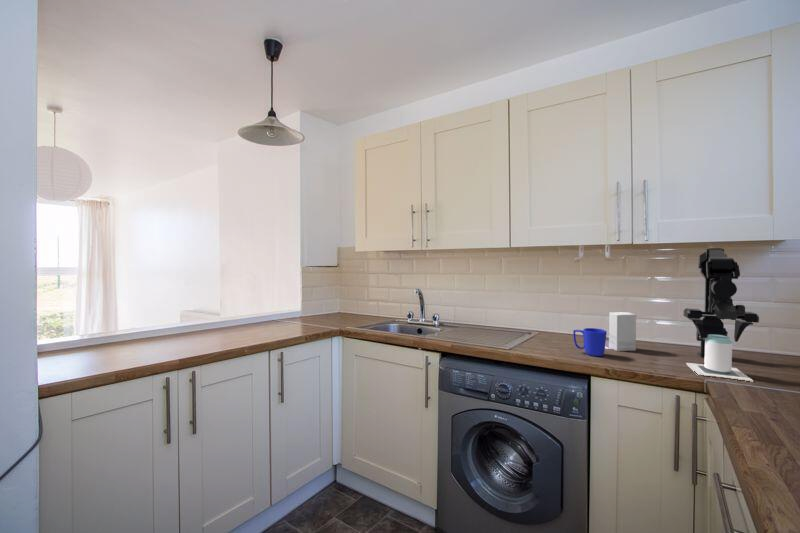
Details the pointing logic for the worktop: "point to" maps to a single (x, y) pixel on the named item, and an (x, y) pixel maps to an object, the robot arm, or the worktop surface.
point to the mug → (592, 341)
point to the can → (718, 353)
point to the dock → (733, 374)
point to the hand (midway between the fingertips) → (718, 340)
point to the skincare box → (622, 331)
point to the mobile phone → (607, 345)
